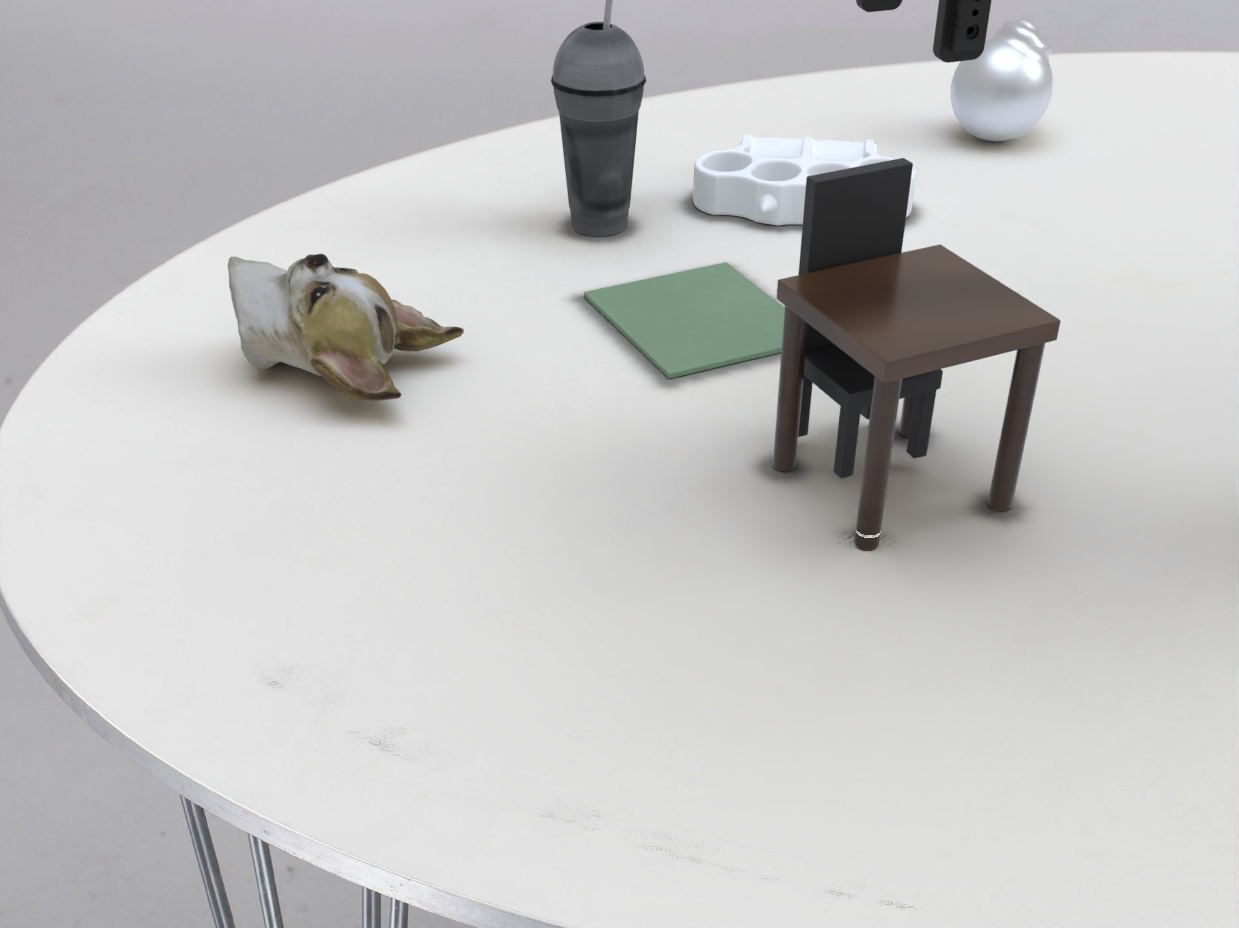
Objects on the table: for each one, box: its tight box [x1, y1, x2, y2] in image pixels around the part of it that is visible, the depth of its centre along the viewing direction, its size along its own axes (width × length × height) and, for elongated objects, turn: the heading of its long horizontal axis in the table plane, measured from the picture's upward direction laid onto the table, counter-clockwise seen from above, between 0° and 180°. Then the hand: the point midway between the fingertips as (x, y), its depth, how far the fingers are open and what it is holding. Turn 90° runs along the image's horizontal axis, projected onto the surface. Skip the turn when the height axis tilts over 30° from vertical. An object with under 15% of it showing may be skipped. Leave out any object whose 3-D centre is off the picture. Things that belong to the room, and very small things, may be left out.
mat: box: [583, 261, 785, 380], centre depth 104 cm, size 14×12×1 cm
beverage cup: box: [550, 0, 647, 237], centre depth 111 cm, size 7×7×20 cm
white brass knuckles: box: [692, 133, 917, 227], centre depth 120 cm, size 3×18×15 cm
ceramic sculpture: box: [227, 253, 465, 402], centre depth 96 cm, size 11×9×15 cm
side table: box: [772, 243, 1061, 551], centre depth 83 cm, size 11×11×12 cm
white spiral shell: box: [949, 18, 1054, 142], centre depth 128 cm, size 9×10×10 cm
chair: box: [798, 157, 944, 479], centre depth 83 cm, size 6×6×16 cm
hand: (915, 32), depth 69 cm, fingers open, 8 cm apart
